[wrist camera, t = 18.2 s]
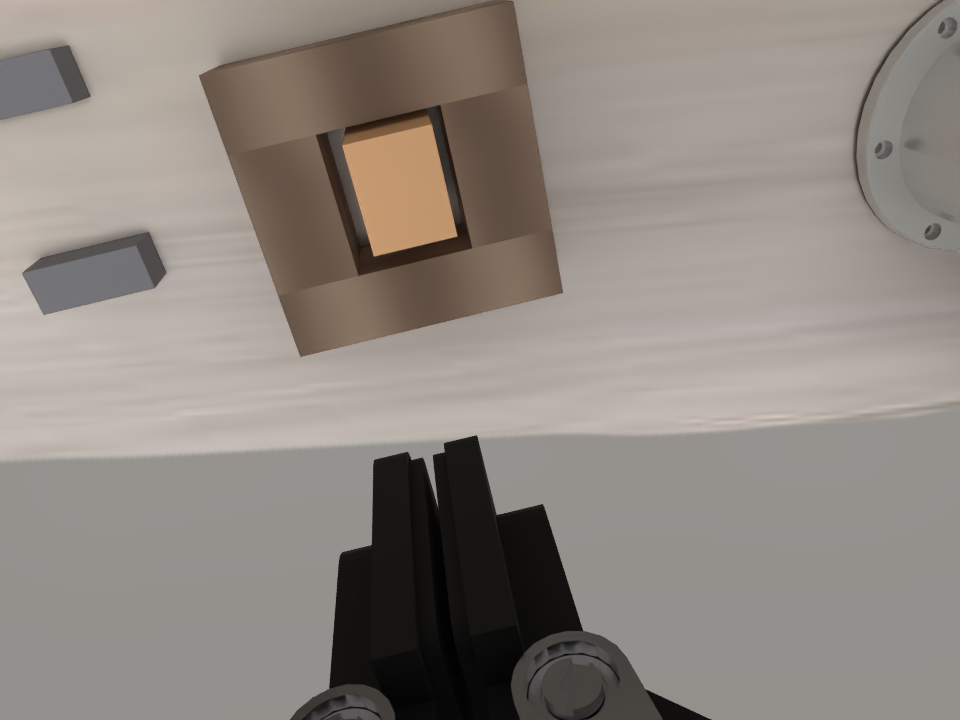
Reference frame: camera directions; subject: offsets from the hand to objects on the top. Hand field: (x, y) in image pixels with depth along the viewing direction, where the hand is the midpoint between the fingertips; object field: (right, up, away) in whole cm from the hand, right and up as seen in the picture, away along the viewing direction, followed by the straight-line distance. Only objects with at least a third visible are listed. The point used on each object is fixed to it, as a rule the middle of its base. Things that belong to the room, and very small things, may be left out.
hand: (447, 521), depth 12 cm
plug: (-3, +12, +22) cm, 25 cm away
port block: (-3, +11, +22) cm, 25 cm away
